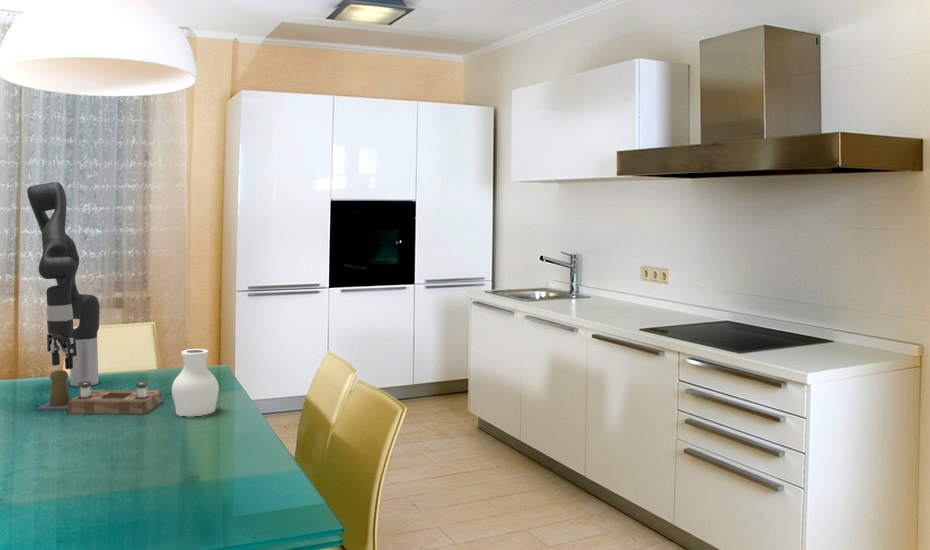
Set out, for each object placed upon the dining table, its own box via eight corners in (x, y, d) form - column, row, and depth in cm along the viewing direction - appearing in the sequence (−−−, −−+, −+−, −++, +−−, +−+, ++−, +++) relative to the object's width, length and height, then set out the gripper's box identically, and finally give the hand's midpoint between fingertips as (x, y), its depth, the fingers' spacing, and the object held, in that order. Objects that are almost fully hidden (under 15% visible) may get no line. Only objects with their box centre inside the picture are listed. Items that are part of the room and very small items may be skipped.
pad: (52, 401, 254) (52, 400, 254) (82, 402, 254) (82, 400, 254) (36, 409, 244) (36, 407, 244) (68, 409, 245) (68, 408, 244)
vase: (198, 404, 254) (197, 345, 252) (228, 410, 247) (227, 349, 245) (162, 413, 242) (161, 351, 240) (192, 420, 235) (191, 356, 233)
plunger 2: (138, 405, 248) (138, 381, 248) (150, 405, 248) (149, 381, 248) (134, 408, 245) (133, 384, 244) (146, 408, 245) (145, 384, 244)
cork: (66, 400, 254) (66, 368, 253) (72, 404, 249) (71, 371, 248) (47, 403, 249) (46, 370, 248) (52, 407, 245) (51, 373, 244)
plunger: (82, 405, 248) (81, 381, 247) (94, 405, 248) (93, 381, 247) (77, 408, 244) (76, 383, 243) (89, 408, 244) (88, 383, 243)
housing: (89, 401, 255) (89, 389, 255) (162, 402, 256) (161, 390, 256) (68, 413, 240) (67, 401, 240) (145, 413, 241) (145, 401, 241)
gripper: (37, 317, 248) (40, 366, 250) (59, 322, 240) (61, 372, 241) (60, 314, 254) (63, 362, 256) (82, 318, 246) (85, 368, 247)
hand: (62, 367), depth 249 cm, fingers open, 8 cm apart
